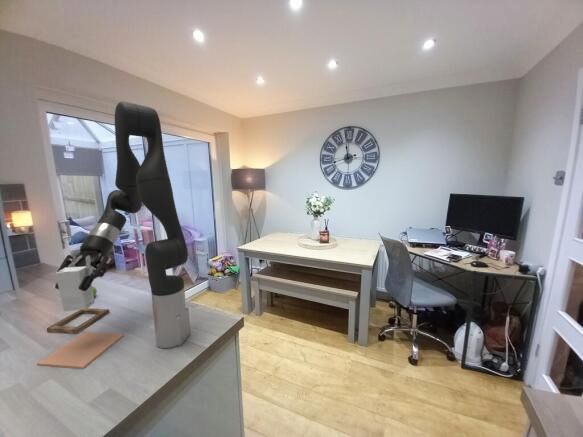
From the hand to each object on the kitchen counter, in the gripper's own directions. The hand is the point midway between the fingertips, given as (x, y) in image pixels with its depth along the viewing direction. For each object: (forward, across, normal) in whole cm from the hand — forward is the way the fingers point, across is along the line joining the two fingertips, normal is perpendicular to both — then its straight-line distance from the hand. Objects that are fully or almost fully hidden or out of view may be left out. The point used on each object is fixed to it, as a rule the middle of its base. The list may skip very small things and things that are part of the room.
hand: (70, 289), depth 67 cm
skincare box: (+4, 0, +6) cm, 7 cm away
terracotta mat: (+13, 0, +15) cm, 20 cm away
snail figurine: (-7, -28, +36) cm, 46 cm away
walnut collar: (+4, -15, +24) cm, 29 cm away
